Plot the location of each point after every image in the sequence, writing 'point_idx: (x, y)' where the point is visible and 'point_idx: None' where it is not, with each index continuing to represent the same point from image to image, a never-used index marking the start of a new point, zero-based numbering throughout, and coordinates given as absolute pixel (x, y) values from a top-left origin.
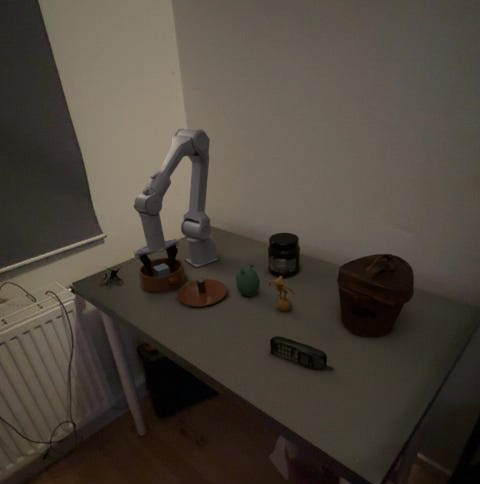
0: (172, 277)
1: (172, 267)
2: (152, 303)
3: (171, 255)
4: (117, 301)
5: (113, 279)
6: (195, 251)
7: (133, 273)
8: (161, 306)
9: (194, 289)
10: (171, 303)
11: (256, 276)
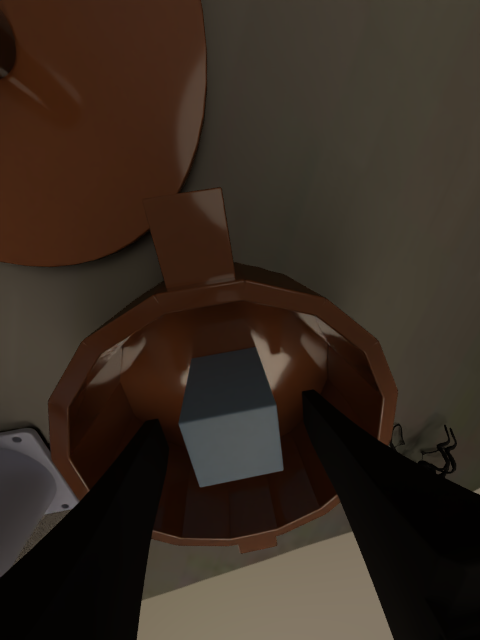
0: (186, 266)
1: (152, 427)
2: (359, 178)
3: (83, 566)
4: (472, 306)
5: (420, 462)
6: None
7: None
8: (331, 96)
9: (52, 129)
10: (263, 91)
11: None
